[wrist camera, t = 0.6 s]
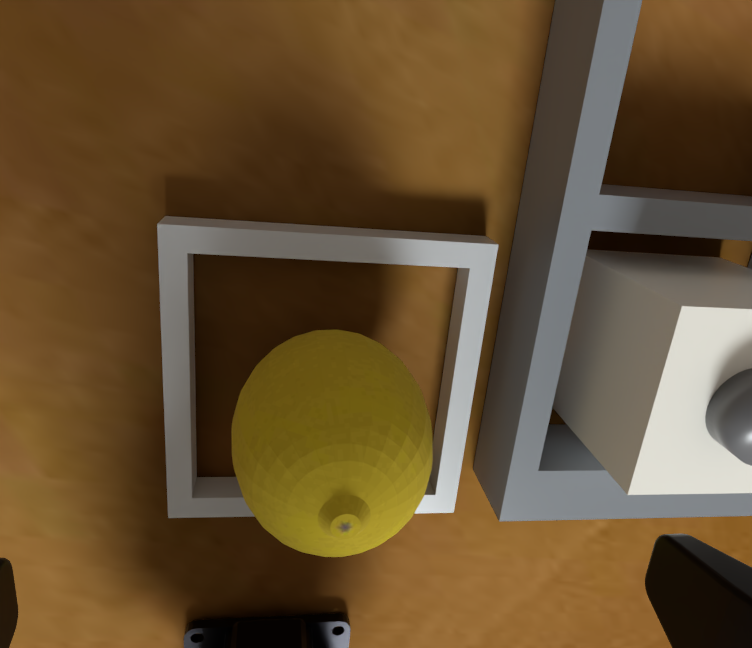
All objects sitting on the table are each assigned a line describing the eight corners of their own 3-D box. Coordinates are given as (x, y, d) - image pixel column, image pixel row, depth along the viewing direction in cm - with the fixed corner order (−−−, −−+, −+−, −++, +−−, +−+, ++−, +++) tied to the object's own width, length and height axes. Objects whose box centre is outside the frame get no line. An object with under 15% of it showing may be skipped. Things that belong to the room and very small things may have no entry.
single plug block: (676, 396, 23) (829, 514, 17) (541, 394, 22) (647, 518, 16) (717, 257, 21) (910, 328, 15) (572, 248, 20) (709, 320, 14)
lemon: (398, 287, 20) (468, 403, 12) (404, 430, 22) (467, 603, 14) (229, 304, 19) (195, 436, 12) (252, 450, 21) (235, 642, 14)
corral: (445, 492, 23) (453, 512, 22) (174, 495, 21) (168, 518, 20) (486, 236, 19) (498, 244, 18) (164, 215, 18) (157, 224, 17)
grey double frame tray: (705, 467, 24) (758, 515, 22) (472, 469, 23) (499, 521, 20) (912, -149, 17) (1033, -196, 14) (592, -213, 15) (660, -281, 13)
